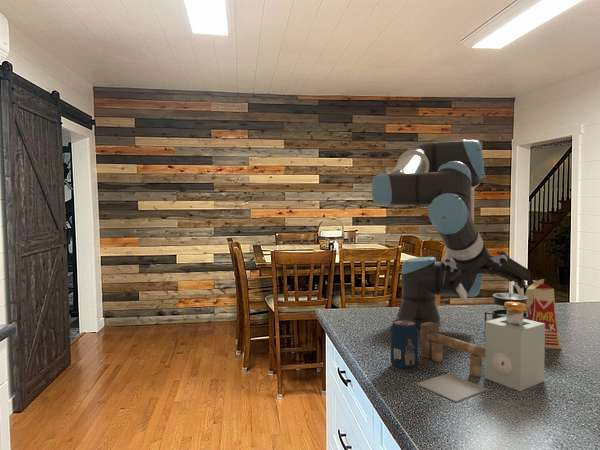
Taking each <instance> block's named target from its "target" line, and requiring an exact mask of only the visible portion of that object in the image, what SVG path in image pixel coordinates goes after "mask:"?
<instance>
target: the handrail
mask: <svg viewBox="0 0 600 450" xmlns="http://www.w3.org/2000/svg"><path fill="white" fill-rule="evenodd" d="M439 328H440V325H439V324H436V323H433V322H427V323H423V324H421V328H420V338H419V339H420V345H419V346H420V347H419V348H420V349H419V351H420V357H424V358H426V359H428V360H429V359H431V361H434V362H436V363H439V362H443V353H444V352H443V350H444V349H443V345H444V346H446V347H450V348H453V349H456V350H459V351H462V352H463V353H464V352H465V353H467V354H469V375H471V376H473V377H476V378H477V377H481V376H483V375H482V373H483V359H485V346H480V345H477V344H474V343H471V342H468V341H467V342H466V341H464V340H461V339H457V338H454V337H452V336H451V337H450V336H447V335H443V334H441V333H439V332H440V329H439Z"/></svg>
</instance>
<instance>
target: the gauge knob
mask: <svg viewBox="0 0 600 450" xmlns="http://www.w3.org/2000/svg"><path fill="white" fill-rule="evenodd" d="M503 310H507V314H506V316H507V324H510V325H514V326H518V327H520V326H523V311H526V304H524V303H520V302H505V303H504V306H503Z"/></svg>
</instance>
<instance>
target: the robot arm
mask: <svg viewBox="0 0 600 450" xmlns="http://www.w3.org/2000/svg"><path fill="white" fill-rule="evenodd" d="M483 157H484V156H483V148H482V144H481V142H480V141H479V140H475V139H458V140H445V141H444V140H443V141H429V142H424V143H420V144H418V145H414V146H412V147H411V148H409V149H406V150H405V151H404V152H403V153H402V154H401V155H400V156H399V158H398V159H397V162H396V166H395V167H394V168H393V169H392V171H391V172H389V173H386V172H385V173H382V174H381V173H379V174H376V175H374V176H373V178H372V182H371V196H372V197H371V198H372V201H373V203H374V204H375V205H377V206H387V207H390V206H427V214H428V215H427V216H428V217H429V220H430V223H431V225H432V227H433V228H434V229H435V231H436V232H437V234H438V235H439V237H440V238H441V241H442V242H443V244H444V245H445V247H446V248H445V250H446V252H445V253H446V254H444V255H443V256H442V258H441V261H437V258H436V257H435V256H424V257H423V256H422V257H415V258H413V257H412V258H408V259H406V260H404V261H403V262H402V264H401V272H400V273H401V303H400V306H399V308H398V312H397V314H396V320H397V319H407V320H412V321H414V322H415V323H416V326H417V328H418V329H421V324H423V323H427V322H433V323H436V324H439V326H441V323H442V322H441V320H442V319H441V316H440V312H439V309H438V306H437V302H436V298H437V297H436V296H437V295H438V296H452V297H460V299H461V300H462V302H463V304H464V303H468V297H469V298H471V297H472V298H474V297H477V296H478V295H479V294H480V291H481V288H482V287H481V286H482V282H483V274H489V275H491V276H494V275H496V276H499V277H502V278H504V279H507V280H508V279H509V280H511V282H513V285H515V287H516V289H517V291H518V293H519V295H520V298H524V289H523V288H525V285H526V281H527V282H529V281H531V272H530V269H528V268H527V267H525V266H524V265H522V264H520V263H518V261H515V260H513V259H512V258H510V257H509V256H508V255H507V254H506V252H504V251H500V252H499V255H496V256H495V255H494V256H493V255H491V254H490V253H489V251H488V248H487V246H486V244H485V242H484V240H483V238H482V236H481V234H480V232H479V230H478V228H477V227H476V224H475V189H476V188H477V187H478V186H479V185H480V181H481V179H484V178H485V177H486V173H485V166H484V158H483ZM509 280H508V281H509Z"/></svg>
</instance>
